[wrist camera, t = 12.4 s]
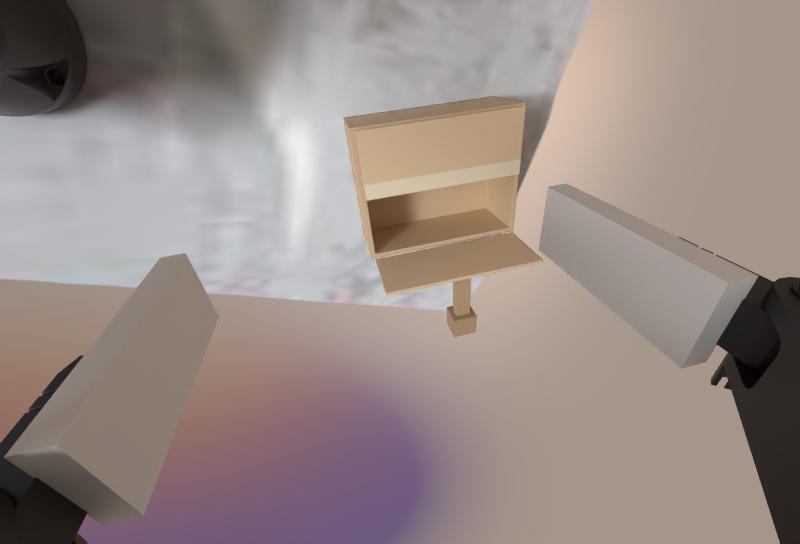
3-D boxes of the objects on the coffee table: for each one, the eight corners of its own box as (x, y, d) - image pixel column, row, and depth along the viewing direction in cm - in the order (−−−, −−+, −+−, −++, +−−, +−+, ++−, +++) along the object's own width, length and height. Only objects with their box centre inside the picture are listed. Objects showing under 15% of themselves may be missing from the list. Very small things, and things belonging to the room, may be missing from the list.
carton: (363, 232, 50) (372, 262, 42) (343, 117, 41) (349, 130, 34) (488, 209, 52) (516, 233, 45) (493, 96, 44) (530, 103, 36)
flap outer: (375, 259, 43) (384, 314, 48) (386, 293, 37) (395, 352, 42) (512, 232, 45) (506, 288, 50) (543, 259, 39) (532, 319, 44)
